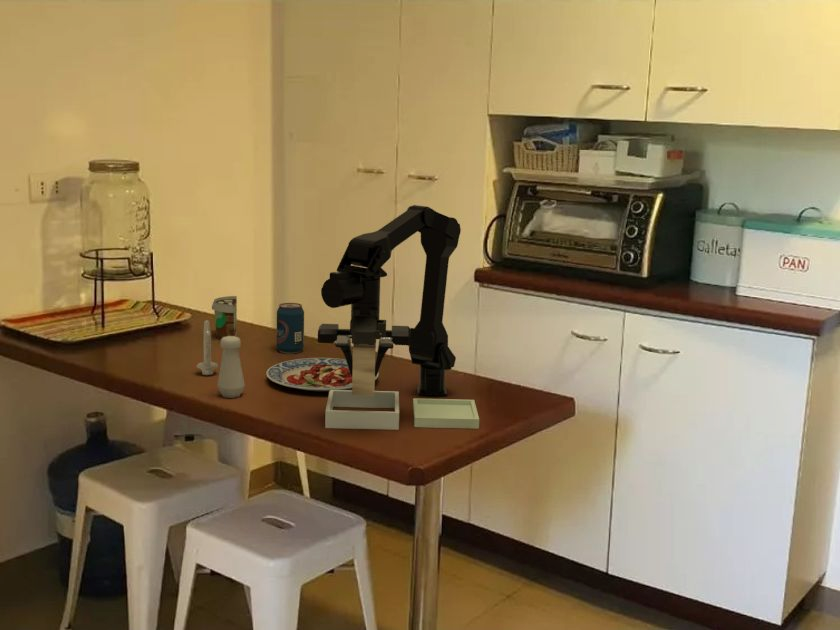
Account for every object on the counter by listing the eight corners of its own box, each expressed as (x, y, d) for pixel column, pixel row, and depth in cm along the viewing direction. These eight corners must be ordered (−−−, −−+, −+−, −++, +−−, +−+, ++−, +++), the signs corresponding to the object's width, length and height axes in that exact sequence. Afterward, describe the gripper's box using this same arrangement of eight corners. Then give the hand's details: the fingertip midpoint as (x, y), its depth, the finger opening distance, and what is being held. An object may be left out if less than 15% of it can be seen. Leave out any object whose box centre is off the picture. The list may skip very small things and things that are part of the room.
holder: (329, 405, 214) (329, 389, 213) (398, 407, 215) (398, 391, 214) (325, 428, 200) (325, 411, 199) (398, 429, 200) (399, 413, 200)
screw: (216, 370, 237) (219, 376, 233) (195, 371, 236) (197, 377, 231) (216, 316, 234) (218, 321, 230) (195, 317, 233) (197, 322, 228)
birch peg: (352, 388, 208) (353, 341, 206) (374, 389, 208) (375, 342, 206) (352, 395, 204) (353, 347, 202) (374, 395, 204) (375, 347, 202)
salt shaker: (246, 391, 222) (246, 334, 219) (243, 399, 216) (242, 340, 213) (219, 390, 222) (219, 333, 219) (215, 398, 216) (214, 340, 213)
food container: (214, 331, 275) (213, 295, 273) (236, 331, 276) (236, 295, 273) (209, 342, 263) (209, 305, 261) (233, 342, 264) (233, 305, 261)
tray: (413, 407, 215) (413, 398, 215) (473, 408, 215) (474, 399, 215) (414, 427, 202) (414, 417, 202) (478, 428, 203) (479, 419, 202)
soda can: (271, 349, 257) (271, 304, 255) (293, 346, 262) (293, 301, 259) (286, 355, 253) (287, 309, 250) (309, 351, 257) (309, 305, 254)
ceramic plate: (310, 360, 249) (310, 349, 249) (399, 378, 237) (399, 366, 236) (242, 384, 228) (242, 372, 227) (336, 405, 215) (337, 392, 215)
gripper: (316, 307, 194) (315, 385, 197) (412, 310, 194) (410, 387, 198) (320, 296, 205) (319, 370, 208) (411, 298, 205) (409, 372, 209)
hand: (363, 375), depth 205 cm, fingers closed on birch peg, 4 cm apart
